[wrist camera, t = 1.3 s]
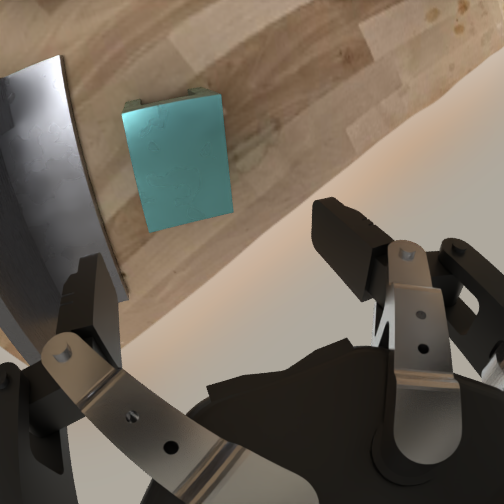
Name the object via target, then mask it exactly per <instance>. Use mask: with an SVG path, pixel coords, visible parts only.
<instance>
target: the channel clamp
mask: <svg viewBox="0 0 504 504" xmlns="http://www.w3.org/2000/svg"><path fill="white" fill-rule="evenodd" d="M122 118H123V123H124V128H125V133H126V138H127V143H128V148H129V152H130V157H131V161H132V166H133V170H134V175H135V179H136V183H137V187H138V191H139V195H140V199H141V203H142V207H143V211H144V215H145V219H146V223H147V226H148V230H149V233H151V232H155V231H159V230H162V229H166V228H170V227H174V226H178V225H182V224H187V223H191V222H195V221H199V220H203V219H207V218H211V217H216V216H220V215H224V214H228V213H233V203H232V194H231V185H230V176H229V166H228V157H227V148H226V138H225V128H224V119H223V109H222V99H221V94H219V93H217V92H214V91H211V90H209V89H206V88H203V87H199V88H193V89H188V96H184V97H178V98H173V99H168V100H163V101H158V102H154V103H149V104H145V105H141V101H140V99H137V100H133V101H129V102H126V103H125V106H124V109H123V112H122Z"/></svg>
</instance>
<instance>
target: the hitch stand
mask: <svg viewBox="0 0 504 504" xmlns="http://www.w3.org/2000/svg"><path fill="white" fill-rule="evenodd" d="M97 252H100V253H101V255H102V257H103V259H104V262H105V264H106V267H107V269H108V272H109V274H110V277H111V279H112V282H113V284H114V287H115V290H116V293H117V298H118V303H119V302H123V301H127V300H129V295H128V290H127V287H126V285H125V282H124V280H123V277H122V275H121V272H120V269H119V267H118V264H117V262H116V259H115V256H114V253H113V251H112V248H111V245H110V242H109V239H108V237H107V234H106V231H105V228H104V225H103V222H102V219H101V216H100V213H99V209H98V206H97V203H96V200H95V197H94V193H93V190H92V186H91V183H90V180H89V176H88V172H87V169H86V165H85V161H84V158H83V154H82V150H81V146H80V142H79V137H78V133H77V129H76V125H75V120H74V115H73V111H72V106H71V101H70V96H69V90H68V85H67V79H66V73H65V67H64V60H63V55H58V56H55V57H53V58H50V59H47V60H45V61H42V62H39V63H37V64H34V65H32V66H29V67H27V68H24V69H22V70H20V71H17V72H15V73H13V74H11V75H9V76H6V77H4V78H0V327H1V329H2V330H3V332H4V333H5V334H6V336H7V337H8V338H9V340H10V341H11V342H12V344H13V345H14V346H15V348H16V349H17V350H18V351H19V353H20V354H21V355H22V356H23V358H24V359H25V360H26V361H27V363H28V364H29V365H30V366H31V365H33V364H35V363H36V362H38V361H40V360H41V353H42V350H43V348H44V346H45V344H46V343H47V342H48V341H49V340H50V339H51V338H52V337H54V336H56V328H57V321H58V314H59V308H60V306H61V305H60V302H61V298H62V291H63V285H64V284H65V282H66V281H67V279H68V277H69V276H70V275H71V274H74V273H77V271H78V265H79V259H80V257H83V256H87V255H90V254H94V253H97Z"/></svg>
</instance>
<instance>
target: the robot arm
mask: <svg viewBox="0 0 504 504" xmlns="http://www.w3.org/2000/svg"><path fill="white" fill-rule="evenodd" d="M311 232H312V233H311V237H312V242H313V245H314V248H315V249H316V251H317V252H318V253H319V254H320V255H321V256H322V257H323V259H324V260H325V261H326V262H327V263H328V264H329V265H330V267H331V268H332V269H333V270H334V271H335V272H336V273H337V274H338V276H339V277H340V278H341V279H342V280H343V281H344V283H345V284H346V285H347V286H348V287H349V288H350V289H351V290H352V292H353V293H354V294H355V295H356V296H357V298H358V299H359V300H360V301H361V302H364V301H367V300H369V299H372V298H374V299H375V300H376V301H375V305H374V315H373V332H372V344H371V346H354V347H353V345H352V344H351V343H350V341H349V340H348V338H345V339H343V340H340V341H337V342H335V343H332V344H330V345H327V346H325V347H322V348H319V349H317V350H315V351H313V352H312V353H311V354H309V355H308V356H306V357H305V358H303V359H302V360H300V361H299V362H297V363H296V364H294V365H293V366H291V367H290V368H288V369H286V370H284V371H278V372H269V373H260V374H250V375H242V376H239V377H236V378H232V379H229V380H226V381H222V382H219V383H215V384H212V385H208V386H206V387H207V390H208V394H209V397H207V398H206V399H204V400H203V401H201V402H199V403H198V404H197V405H195V406H194V407H193V408H192V409H191V410H190V411H189V412H188V413H187V414H186V415H184V414H183V413H181V412H180V411H178V410H177V409H176V408H174V407H173V406H171V405H170V404H168V403H167V402H166V401H164V400H163V399H162V398H160V397H159V396H157V395H156V394H155V393H153V392H152V391H151V390H149V389H148V388H147V387H145V386H144V385H143V384H141V383H140V382H139V381H138V380H136V379H135V378H134V377H133V376H131V375H130V374H129V373H127V372H126V371H125V370H123V369H122V361H121V348H120V333H119V313H118V298H117V293H116V290H115V287H114V284H113V282H112V279H111V277H110V274H109V272H108V269H107V267H106V264H105V262H104V259H103V257H102V255H101V253H100V252H97V253H94V254H90V255H87V256H83V257H80V259H79V265H78V271H77V273H74V274H71V275H70V276H69V277H68V279H67V281H66V282H65V284H64V285H63V291H62V298H61V302H60V305H61V306H60V308H59V314H58V321H57V328H56V336H54V337H52V338H51V339H50V340H49V341H48V342H47V343H46V344H45V346H44V348H43V350H42V353H41V360H40V361H38V362H36V363H35V364H33V365H31V366H29V367H27V368H26V369H23V370H22V371H21V370H20V369H19V368H18V366H17V365H15V364H14V363H11V362H6V363H2V364H1V365H0V504H78V500H77V495H76V490H75V485H74V479H73V473H72V466H71V460H70V451H69V443H68V434H67V426H68V425H70V424H72V423H74V422H76V421H78V420H79V419H81V418H83V417H85V416H86V417H87V418H88V419H89V420H90V421H91V422H92V423H93V424H94V425H95V426H96V427H97V428H98V429H99V430H100V431H101V432H102V433H103V434H104V435H105V436H106V437H107V438H108V439H109V440H110V441H111V442H112V443H113V444H114V445H115V446H116V447H117V448H118V449H120V450H121V451H122V452H123V453H124V454H125V455H126V456H127V457H128V458H129V459H131V460H132V461H133V462H134V463H135V464H136V465H138V466H139V467H140V468H141V469H142V470H143V471H145V472H146V473H147V474H148V475H149V476H151V477H152V480H151V482H150V484H149V486H148V488H147V490H146V492H145V494H144V496H143V499H142V501H141V503H140V504H504V275H503V274H502V273H501V272H500V271H499V270H498V269H497V268H496V267H494V266H493V265H492V264H491V263H490V262H489V261H488V260H487V259H485V258H484V257H483V256H482V255H481V254H480V253H479V252H477V251H476V250H475V249H474V248H473V247H472V246H470V245H469V244H468V243H466V242H465V241H462V240H460V239H456V238H447V239H444V240H443V241H442V244H441V247H440V251H431V252H425V251H424V249H423V248H422V247H421V246H419V245H418V244H416V243H413V242H411V241H407V240H396V241H394V240H393V239H392V238H391V237H390V236H388V235H387V234H386V233H385V232H384V231H382V230H381V229H380V228H379V227H378V226H376V225H374V224H373V222H371V221H370V220H369V219H367V218H366V217H365V216H364V215H363V214H361V213H360V212H359V211H357V210H354V209H352V208H349V207H346V206H344V205H343V204H342V203H341V202H339V201H338V200H337V199H336V198H334V197H329V198H325V199H320V200H315V201H314V202H313V206H312V231H311ZM463 285H464V286H465V287H466V288H467V289H468V290H469V291H470V292H471V293H472V294H473V295H474V296H475V297H476V298H477V300H478V302H479V312H478V314H477V316H476V315H475V314H474V312H473V311H472V310H471V309H470V308H469V307H468V306H467V305H466V304H465V303H464V302H463V301H462V300H461V299H460V298H459V295H460V292H461V290H462V288H463ZM449 337H450V339H451V340H452V341H453V342H454V344H455V345H456V346H457V347H458V349H459V350H460V351H461V352H462V353H463V355H464V356H465V357H466V359H467V360H468V361H469V362H470V364H471V365H472V366H473V367H474V369H475V370H476V371H477V373H478V374H479V375H480V377H481V378H482V382H483V383H482V382H479V381H476V380H473V379H470V378H467V377H464V376H461V375H458V374H455V373H453V369H452V359H451V349H450V342H449Z"/></svg>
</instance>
